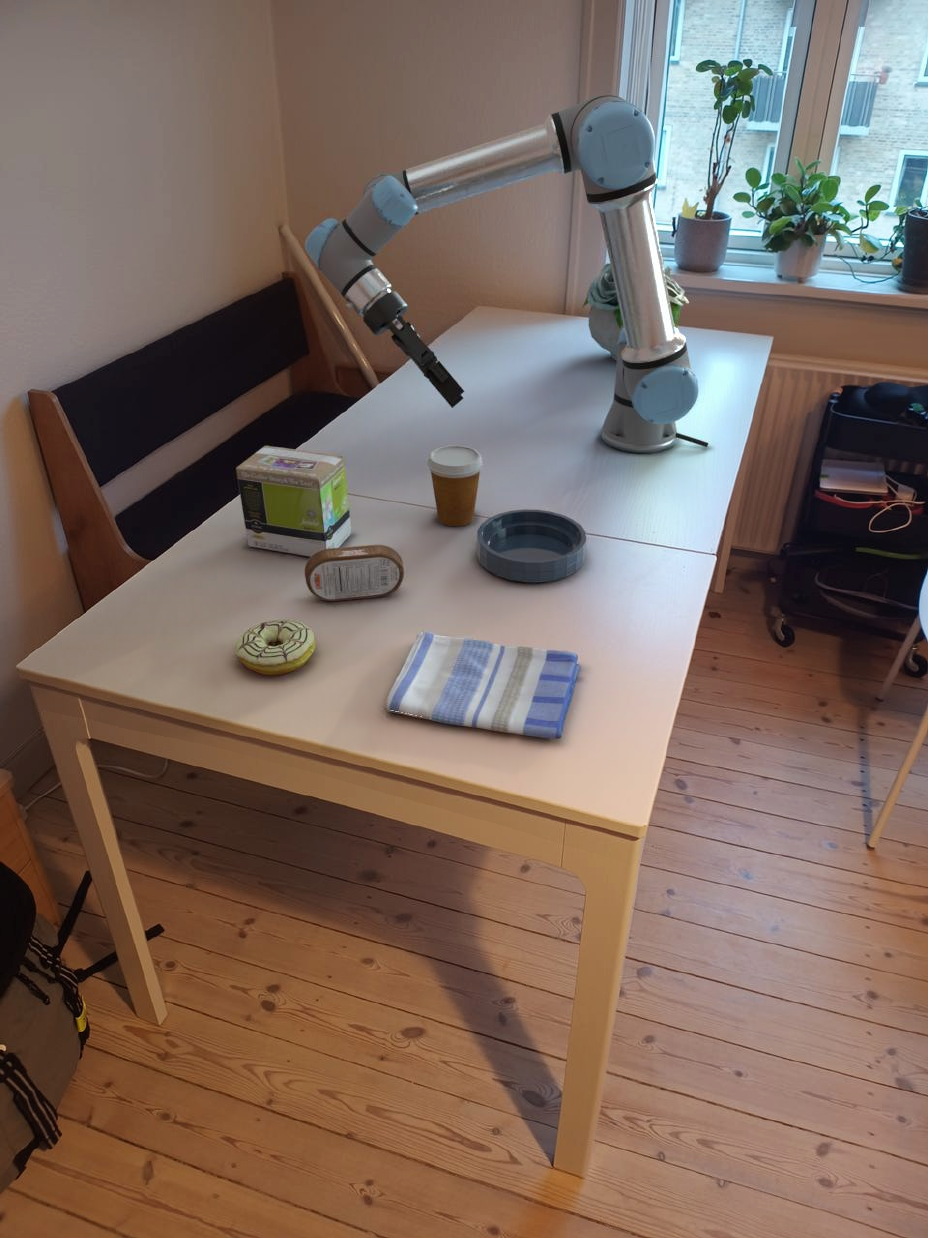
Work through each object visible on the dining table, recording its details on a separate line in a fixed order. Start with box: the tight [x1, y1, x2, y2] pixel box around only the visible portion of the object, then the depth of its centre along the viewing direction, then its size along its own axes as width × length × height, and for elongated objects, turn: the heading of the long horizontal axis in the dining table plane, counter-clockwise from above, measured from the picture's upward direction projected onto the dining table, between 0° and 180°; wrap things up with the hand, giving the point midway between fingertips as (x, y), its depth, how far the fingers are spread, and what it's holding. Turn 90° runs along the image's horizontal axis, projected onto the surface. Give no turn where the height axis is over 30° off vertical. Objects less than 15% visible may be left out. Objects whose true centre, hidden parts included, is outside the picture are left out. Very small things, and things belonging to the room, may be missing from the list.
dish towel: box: [385, 630, 581, 740], centre depth 125 cm, size 17×24×3 cm
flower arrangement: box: [581, 258, 690, 362], centre depth 229 cm, size 25×25×24 cm
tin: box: [303, 544, 405, 602], centre depth 143 cm, size 15×3×8 cm, turn 100°
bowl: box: [476, 508, 587, 583], centre depth 154 cm, size 18×18×4 cm
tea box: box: [235, 445, 352, 558], centre depth 155 cm, size 15×10×15 cm, turn 71°
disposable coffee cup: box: [426, 444, 484, 527], centre depth 163 cm, size 10×10×12 cm
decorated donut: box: [234, 619, 316, 676], centre depth 131 cm, size 10×11×4 cm
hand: (458, 400), depth 164 cm, fingers open, 13 cm apart
